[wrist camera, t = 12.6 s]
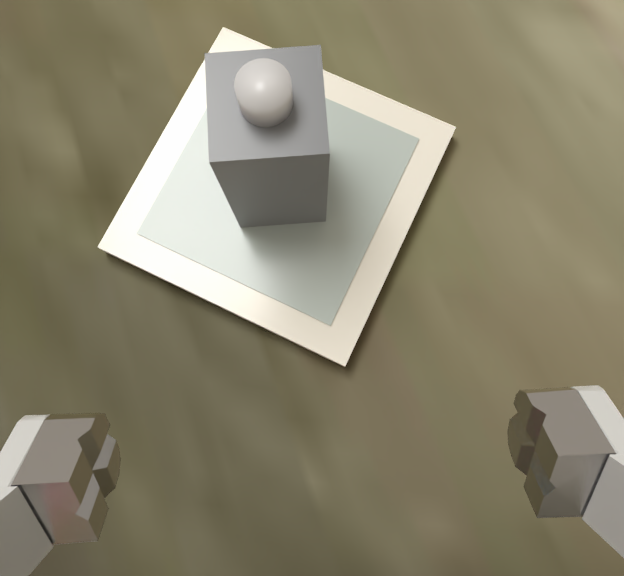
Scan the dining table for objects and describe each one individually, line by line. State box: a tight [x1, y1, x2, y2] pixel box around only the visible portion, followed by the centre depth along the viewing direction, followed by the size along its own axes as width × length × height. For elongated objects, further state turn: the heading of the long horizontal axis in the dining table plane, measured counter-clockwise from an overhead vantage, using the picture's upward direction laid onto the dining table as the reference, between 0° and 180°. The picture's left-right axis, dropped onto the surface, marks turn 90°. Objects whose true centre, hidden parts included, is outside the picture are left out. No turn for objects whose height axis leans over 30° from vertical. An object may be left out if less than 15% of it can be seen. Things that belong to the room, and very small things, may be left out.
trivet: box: [98, 27, 456, 367], centre depth 28 cm, size 14×14×1 cm
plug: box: [205, 45, 330, 228], centre depth 23 cm, size 4×4×9 cm
